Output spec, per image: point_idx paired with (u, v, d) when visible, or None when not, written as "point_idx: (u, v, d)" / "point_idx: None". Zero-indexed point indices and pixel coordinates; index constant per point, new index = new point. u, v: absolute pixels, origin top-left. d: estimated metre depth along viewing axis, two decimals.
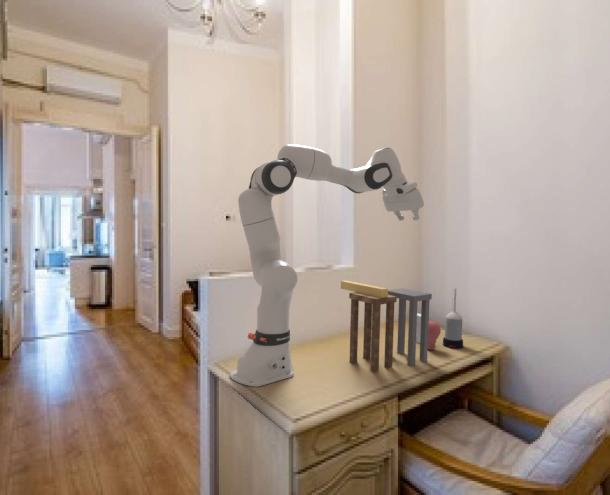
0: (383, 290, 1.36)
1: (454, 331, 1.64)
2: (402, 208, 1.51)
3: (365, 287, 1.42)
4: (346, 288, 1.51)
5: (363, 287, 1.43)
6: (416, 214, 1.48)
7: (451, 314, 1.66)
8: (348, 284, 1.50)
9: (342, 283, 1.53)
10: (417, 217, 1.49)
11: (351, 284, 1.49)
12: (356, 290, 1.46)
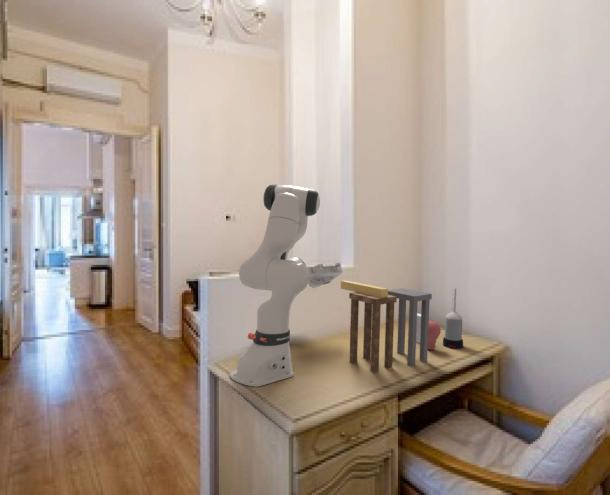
0: (383, 290, 1.36)
1: (454, 331, 1.64)
2: None
3: (365, 287, 1.42)
4: (346, 288, 1.51)
5: (363, 287, 1.43)
6: None
7: (451, 314, 1.66)
8: (348, 284, 1.50)
9: (342, 283, 1.53)
10: None
11: (351, 284, 1.49)
12: (356, 290, 1.46)
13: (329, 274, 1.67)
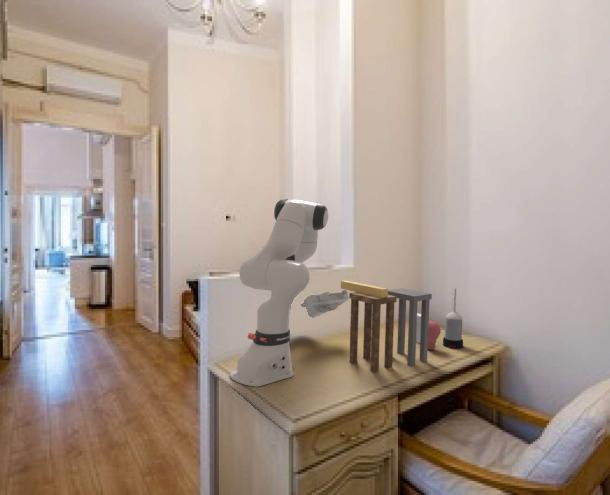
0: (383, 290, 1.36)
1: (454, 331, 1.64)
2: None
3: (365, 287, 1.42)
4: (346, 288, 1.51)
5: (363, 287, 1.43)
6: None
7: (451, 314, 1.66)
8: (348, 284, 1.50)
9: (342, 283, 1.53)
10: None
11: (351, 284, 1.49)
12: (356, 290, 1.46)
13: (335, 301, 1.64)
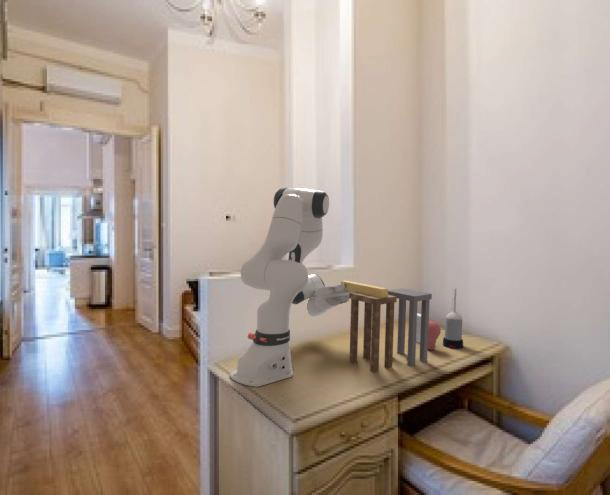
0: (383, 290, 1.36)
1: (454, 331, 1.64)
2: None
3: (365, 287, 1.42)
4: (346, 288, 1.51)
5: (363, 287, 1.43)
6: None
7: (451, 314, 1.66)
8: (348, 284, 1.50)
9: None
10: None
11: (351, 284, 1.49)
12: (356, 290, 1.46)
13: (347, 293, 1.58)
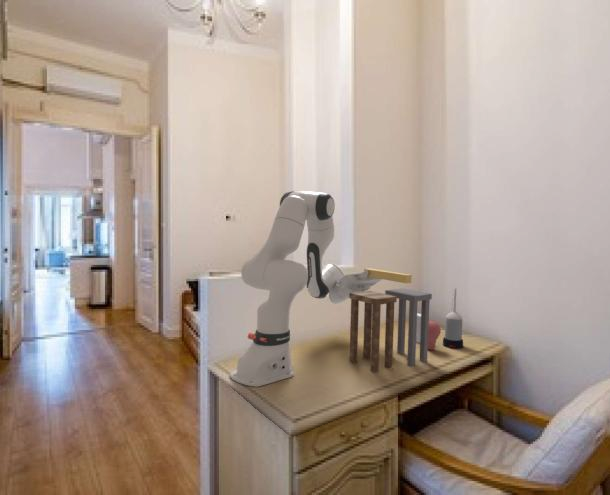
0: (407, 276, 1.43)
1: (454, 331, 1.64)
2: None
3: (389, 274, 1.49)
4: (369, 275, 1.58)
5: (387, 274, 1.50)
6: None
7: (451, 314, 1.66)
8: (371, 271, 1.57)
9: (365, 270, 1.60)
10: None
11: (375, 271, 1.56)
12: (380, 277, 1.53)
13: (369, 281, 1.65)
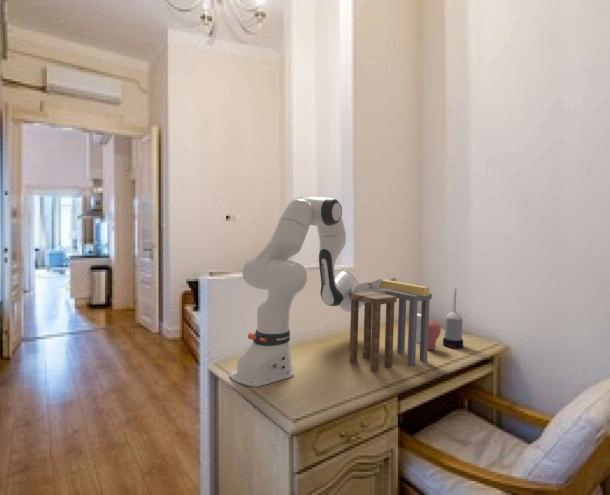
0: (425, 289, 1.41)
1: (454, 331, 1.64)
2: None
3: (406, 286, 1.47)
4: (385, 287, 1.56)
5: (404, 286, 1.48)
6: None
7: (451, 314, 1.66)
8: (387, 283, 1.55)
9: None
10: None
11: (391, 283, 1.53)
12: (396, 289, 1.51)
13: (384, 289, 1.63)
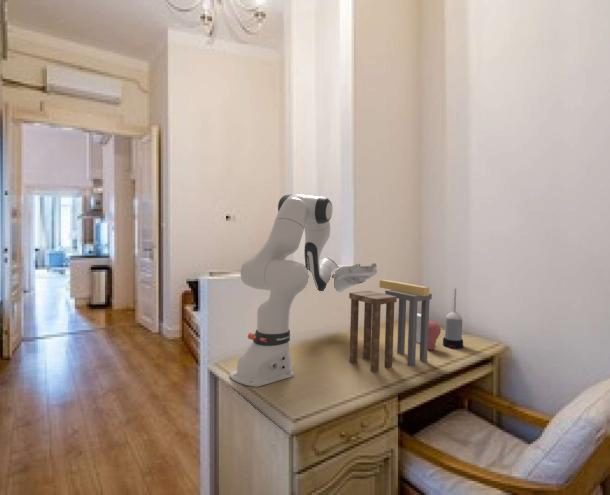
0: (425, 289, 1.41)
1: (454, 331, 1.64)
2: None
3: (406, 286, 1.47)
4: (385, 287, 1.56)
5: (404, 286, 1.48)
6: None
7: (451, 314, 1.66)
8: (387, 283, 1.55)
9: (381, 282, 1.58)
10: None
11: (391, 283, 1.53)
12: (396, 289, 1.51)
13: (364, 274, 1.72)
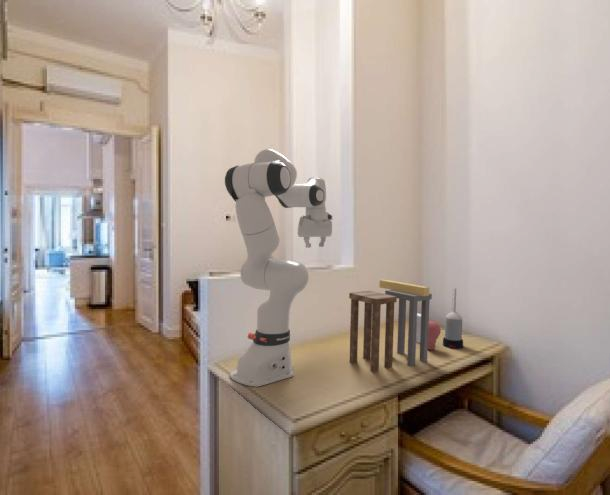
0: (425, 289, 1.41)
1: (454, 331, 1.64)
2: (320, 234, 1.70)
3: (406, 286, 1.47)
4: (385, 287, 1.56)
5: (404, 286, 1.48)
6: None
7: (451, 314, 1.66)
8: (387, 283, 1.55)
9: (381, 282, 1.58)
10: None
11: (391, 283, 1.53)
12: (396, 289, 1.51)
13: None
